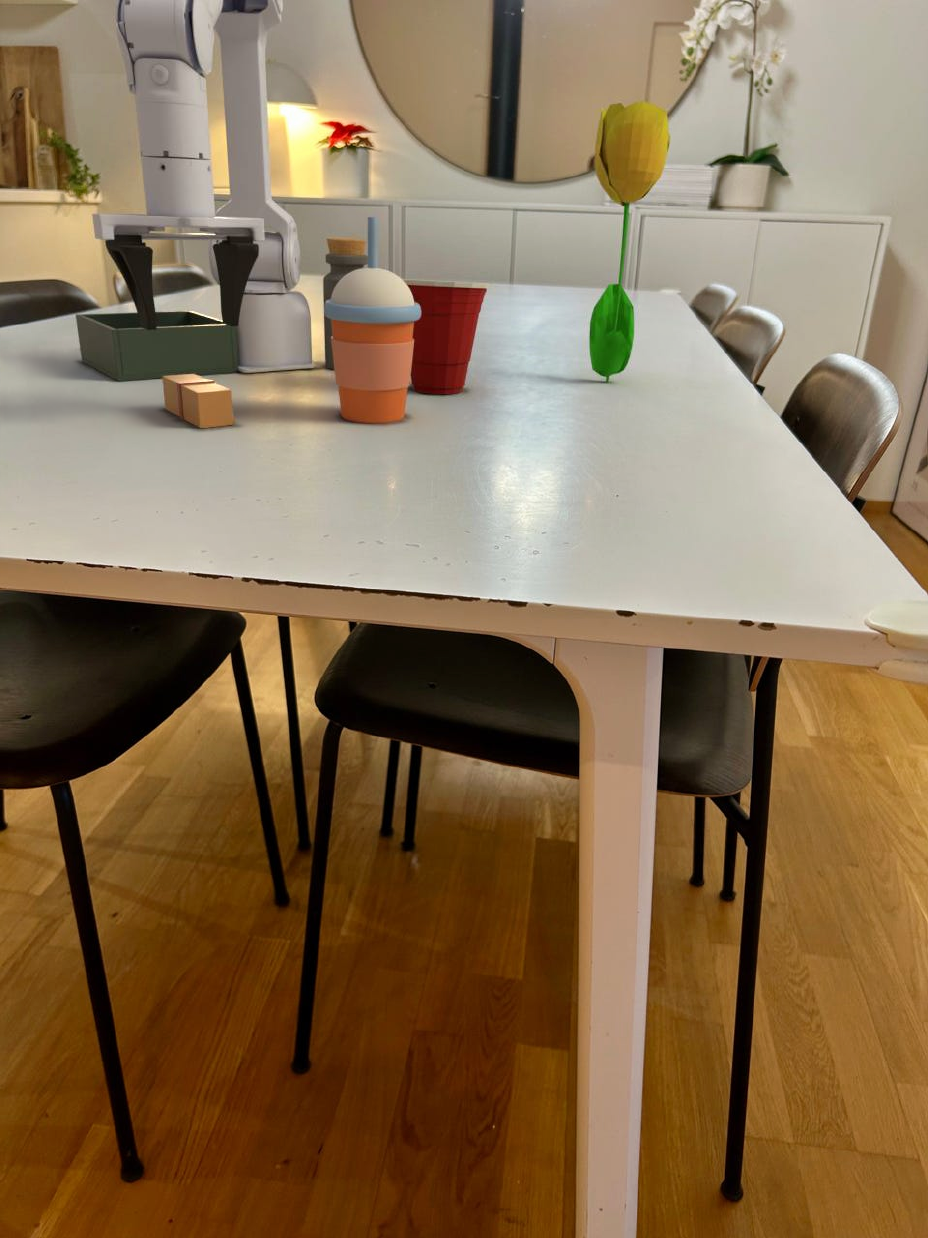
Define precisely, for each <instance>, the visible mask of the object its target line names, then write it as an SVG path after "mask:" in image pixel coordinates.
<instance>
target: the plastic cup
mask: <svg viewBox="0 0 928 1238" xmlns="http://www.w3.org/2000/svg"><path fill="white" fill-rule="evenodd" d="M402 280H403V281H404V282H405V283H406V285H407V286H408V287H409V289H410V291H411V293H412V296H413V299H414V302H416V303H418V304H419V305H420V307H421V317H420V319H419V320H417V321H414V327H413V337H412V338H413V339H414V347H413V357H412V366H411V376H410V383H411V385H412V389H413V391H414V392H416V393H417V392H418V393H423V394H429V395H430V394H431V395H453V394H459V393H462V392H463V390H464V386H465V383H466V380H467V373H468V368H469V363H470V361H471V357H472V352H473V348H474V347H473V346H474V342H475V337H476V332H477V327H478V321H479V316H480V313H481V310H482V305H483V303H484V300H485V296H486V293H487V291H488V290H487V289H490V287H491V284H490V283H481V282H461V281H445V280H444V281H441V280H440V281H439V280H421V279H420V280H419V279H402Z"/></svg>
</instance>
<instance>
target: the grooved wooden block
mask: <svg viewBox="0 0 928 1238" xmlns="http://www.w3.org/2000/svg"><path fill="white" fill-rule="evenodd" d="M161 380H162V386H163V388H162V389H163V397H164V407H165V410H166V411H168V412H170V413H171V414H173V415H176V416H177V417H179V419H180V420H181V421H186V422H188V423H189V424H192V425H193V426H195V427H196V428H199V429H207V428H209V429H210V428H218V427H226V426H234V410H233V399H232V398H233V397H232V390H231V389H230V388H229V387H228V388H227V387H225V386H223V385H221V384H218V383H216V382H215V380H214V379H213V380H212V379H207V378H204V377H202V376H201V375H196V374H184V375H170V376H162V378H161Z"/></svg>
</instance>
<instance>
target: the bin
mask: <svg viewBox="0 0 928 1238" xmlns="http://www.w3.org/2000/svg"><path fill="white" fill-rule="evenodd" d="M155 312H156V330H147V329H145V328H142V327H141V323H140V320H139V316H138V313H137V311H136V312H110V313H109V312H108V313H107V312H106V313H82V314H80V313H78V314H77V313H76V314H75V321H76V327H77V335H78V344H79V350H80V357H81V362H82V363H84V364H86V365H87V366H90V367H92V368H93V369H95V370H97V371H99V372H101V373H102V374H104V375H106V376H108V377H109V378H112V379H113V380H115V381H117V382H126V381H127V382H128V381H140V380H155V379H162V376H170V375H184V374H196V375H198V376H206V375H219V374H235V373H239V372H240V371H238V355H237V340H236V326H229V325H226V324H223V320H222V319H219V318H216V317H212V316H209V315H207V314H203V313H199V312H196V311H193V310H170V311H168V310H167V311H155Z"/></svg>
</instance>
